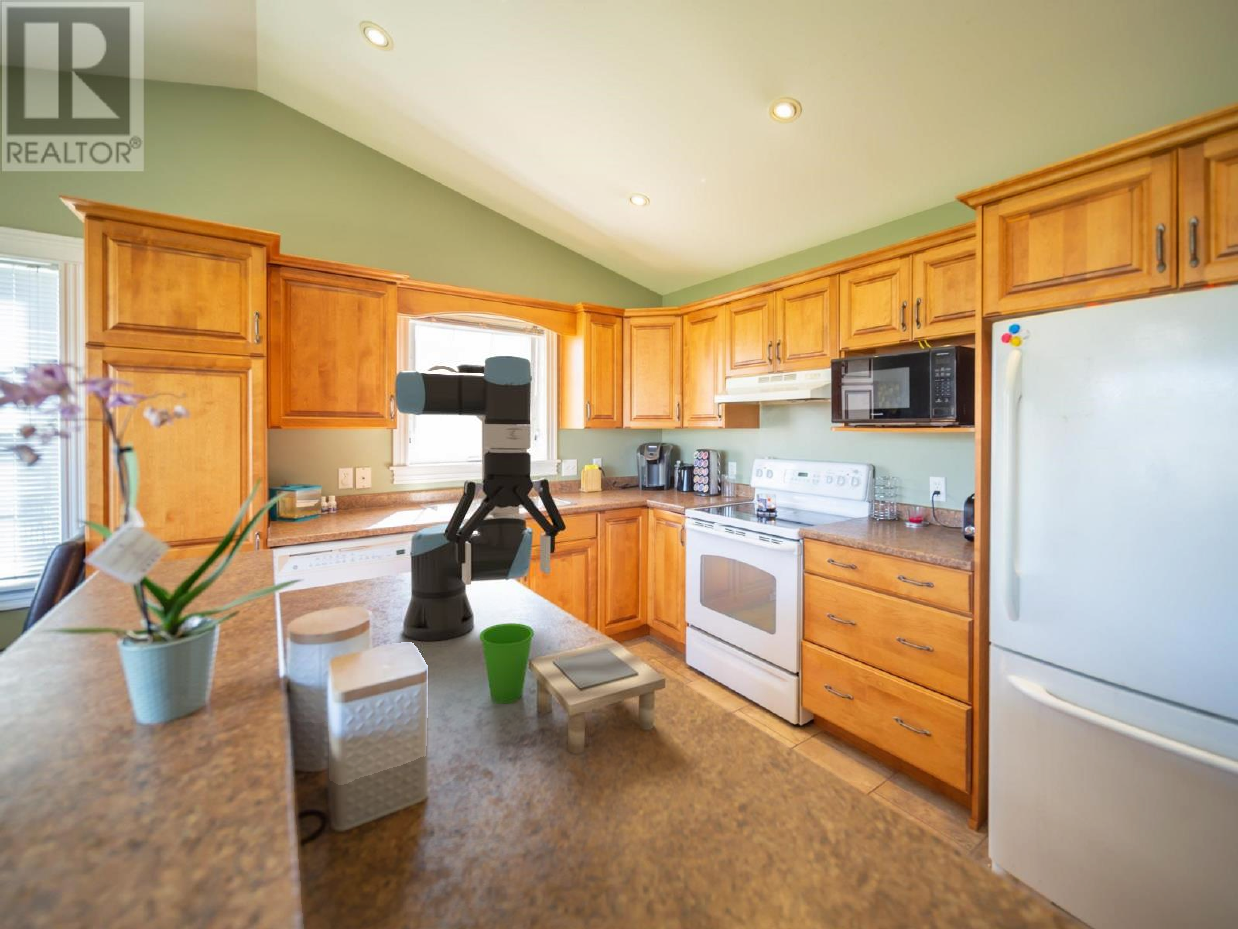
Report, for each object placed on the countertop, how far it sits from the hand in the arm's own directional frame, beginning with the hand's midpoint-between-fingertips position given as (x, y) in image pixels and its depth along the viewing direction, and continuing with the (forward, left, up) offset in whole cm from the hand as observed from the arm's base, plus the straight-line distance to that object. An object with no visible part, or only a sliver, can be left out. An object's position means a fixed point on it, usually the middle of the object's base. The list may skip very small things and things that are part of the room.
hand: (507, 577), depth 86 cm
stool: (+13, +10, -21) cm, 26 cm away
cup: (0, 0, -21) cm, 21 cm away
